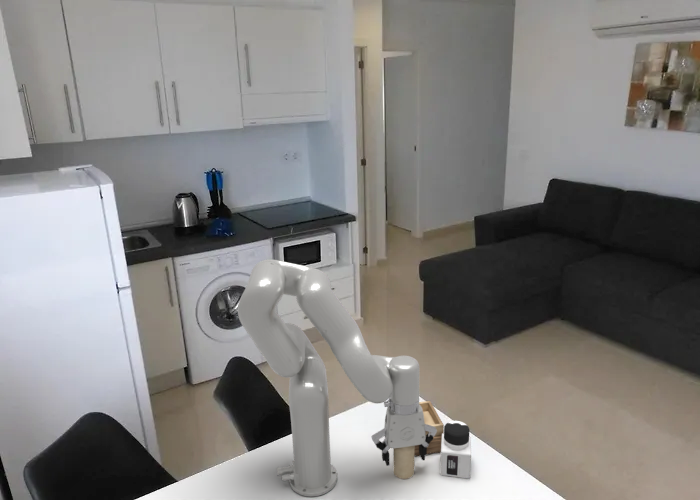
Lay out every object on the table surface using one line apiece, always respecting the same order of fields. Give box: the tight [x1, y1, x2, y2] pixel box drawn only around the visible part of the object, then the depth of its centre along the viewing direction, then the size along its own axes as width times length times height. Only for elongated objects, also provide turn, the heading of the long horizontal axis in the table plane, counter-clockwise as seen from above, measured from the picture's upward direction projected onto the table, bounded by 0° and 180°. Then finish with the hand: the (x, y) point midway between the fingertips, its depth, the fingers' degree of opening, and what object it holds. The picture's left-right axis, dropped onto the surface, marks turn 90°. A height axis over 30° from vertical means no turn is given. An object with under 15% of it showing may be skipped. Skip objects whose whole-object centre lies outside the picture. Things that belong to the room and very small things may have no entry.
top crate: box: [419, 400, 445, 437], centre depth 150 cm, size 12×12×4 cm
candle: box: [392, 446, 415, 480], centre depth 138 cm, size 6×6×10 cm
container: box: [439, 420, 472, 479], centre depth 139 cm, size 8×8×13 cm
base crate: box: [414, 436, 442, 457], centre depth 151 cm, size 13×13×5 cm
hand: (404, 459), depth 138 cm, fingers open, 9 cm apart
